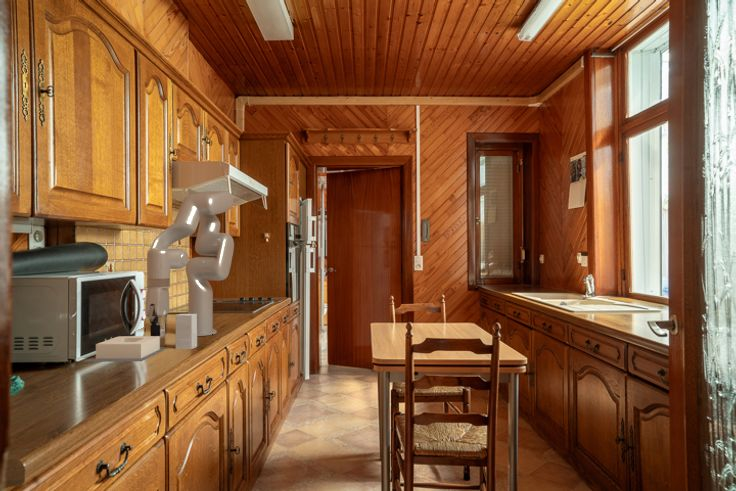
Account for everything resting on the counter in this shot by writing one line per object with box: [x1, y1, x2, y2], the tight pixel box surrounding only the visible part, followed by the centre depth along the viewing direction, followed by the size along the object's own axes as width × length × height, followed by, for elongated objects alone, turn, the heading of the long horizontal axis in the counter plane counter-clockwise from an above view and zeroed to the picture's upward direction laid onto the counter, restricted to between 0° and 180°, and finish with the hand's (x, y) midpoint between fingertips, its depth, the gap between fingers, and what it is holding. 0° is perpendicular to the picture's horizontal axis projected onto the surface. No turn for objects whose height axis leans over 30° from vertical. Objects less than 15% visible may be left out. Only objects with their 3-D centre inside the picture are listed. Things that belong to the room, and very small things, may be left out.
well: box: [95, 335, 161, 359], centre depth 156 cm, size 14×14×4 cm
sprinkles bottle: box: [154, 311, 166, 348], centre depth 170 cm, size 5×5×14 cm
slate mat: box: [82, 347, 169, 363], centre depth 155 cm, size 20×18×1 cm
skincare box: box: [175, 313, 198, 350], centre depth 167 cm, size 6×4×12 cm
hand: (158, 334), depth 170 cm, fingers closed on sprinkles bottle, 4 cm apart
